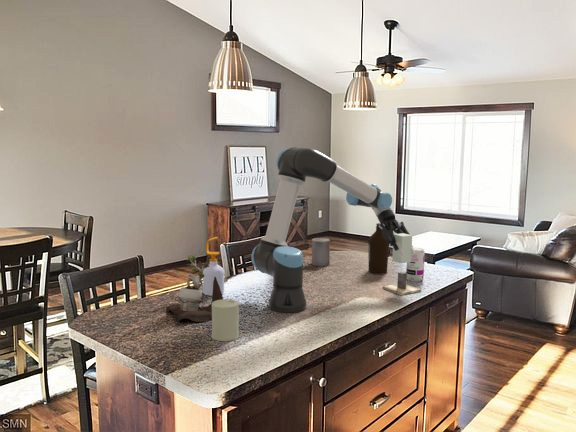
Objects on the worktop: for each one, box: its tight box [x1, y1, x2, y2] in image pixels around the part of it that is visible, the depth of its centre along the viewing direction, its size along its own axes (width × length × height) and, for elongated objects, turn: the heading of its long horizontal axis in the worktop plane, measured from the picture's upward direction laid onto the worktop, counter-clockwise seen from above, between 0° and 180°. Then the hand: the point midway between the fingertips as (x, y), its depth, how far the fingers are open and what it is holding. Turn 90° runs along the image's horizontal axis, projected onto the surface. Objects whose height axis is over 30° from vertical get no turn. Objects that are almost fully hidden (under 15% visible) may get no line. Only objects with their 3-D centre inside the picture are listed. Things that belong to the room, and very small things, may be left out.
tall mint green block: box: [391, 233, 413, 264], centre depth 232 cm, size 6×6×12 cm
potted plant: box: [165, 254, 224, 324], centre depth 199 cm, size 20×19×25 cm
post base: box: [382, 271, 422, 296], centre depth 234 cm, size 12×12×8 cm
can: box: [211, 298, 240, 342], centre depth 175 cm, size 9×9×12 cm
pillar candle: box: [311, 237, 331, 267], centre depth 282 cm, size 10×10×15 cm
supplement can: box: [405, 247, 426, 282], centre depth 253 cm, size 8×8×15 cm
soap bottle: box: [202, 236, 225, 297], centre depth 224 cm, size 9×9×25 cm
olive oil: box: [367, 222, 390, 275], centre depth 266 cm, size 11×11×25 cm
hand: (407, 255), depth 229 cm, fingers closed on tall mint green block, 6 cm apart
